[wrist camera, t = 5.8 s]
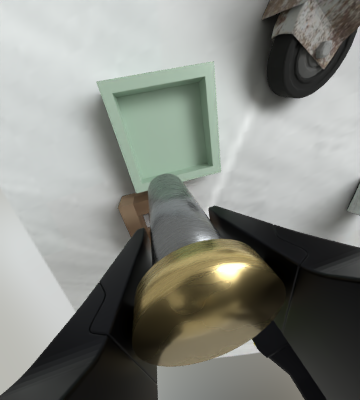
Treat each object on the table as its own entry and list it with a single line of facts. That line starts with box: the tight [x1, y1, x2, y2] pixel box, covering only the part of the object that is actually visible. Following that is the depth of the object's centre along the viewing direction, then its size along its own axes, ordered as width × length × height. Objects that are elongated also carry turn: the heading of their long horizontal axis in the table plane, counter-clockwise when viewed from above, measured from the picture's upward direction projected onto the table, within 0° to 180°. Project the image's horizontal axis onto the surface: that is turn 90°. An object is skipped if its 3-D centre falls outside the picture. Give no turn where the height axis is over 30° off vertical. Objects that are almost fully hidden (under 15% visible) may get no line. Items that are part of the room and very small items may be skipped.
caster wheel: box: [262, 0, 360, 98], centre depth 15 cm, size 7×11×10 cm
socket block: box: [118, 191, 151, 243], centre depth 21 cm, size 8×8×4 cm
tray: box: [97, 61, 221, 193], centre depth 17 cm, size 11×11×3 cm
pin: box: [132, 174, 286, 367], centre depth 9 cm, size 4×4×10 cm
